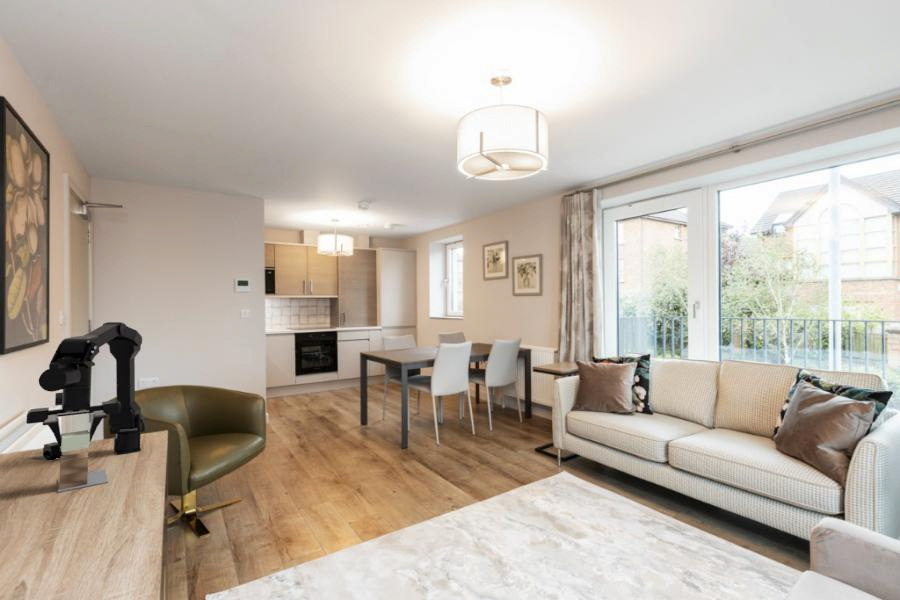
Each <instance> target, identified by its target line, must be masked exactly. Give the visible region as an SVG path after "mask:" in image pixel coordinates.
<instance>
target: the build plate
mask: <svg viewBox="0 0 900 600" xmlns="http://www.w3.org/2000/svg"><path fill="white" fill-rule="evenodd" d="M64 454H65V453H63V452H61V448H60V446H59V445H58V443H57V441H56V442H55V441H53V442H49V443H45V444H44V445H43V447H42V454H41V455H38V456H37V455H36V456H33V459H37V460H43V459H45V460H44V461H48V460H53V461H55V460H54V459H56V458H60V456H65V455H66V454H65V455H64Z"/></svg>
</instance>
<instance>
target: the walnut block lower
mask: <svg viewBox="0 0 900 600" xmlns="http://www.w3.org/2000/svg"><path fill="white" fill-rule="evenodd" d="M88 473H89V470H88V471H83V472H77V473H72V474H66V475H61V476H60V475H59V478H60V480H59V490H61V489H66V488H71V487H76V486H81V485H86V484H87V478H88Z"/></svg>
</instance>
